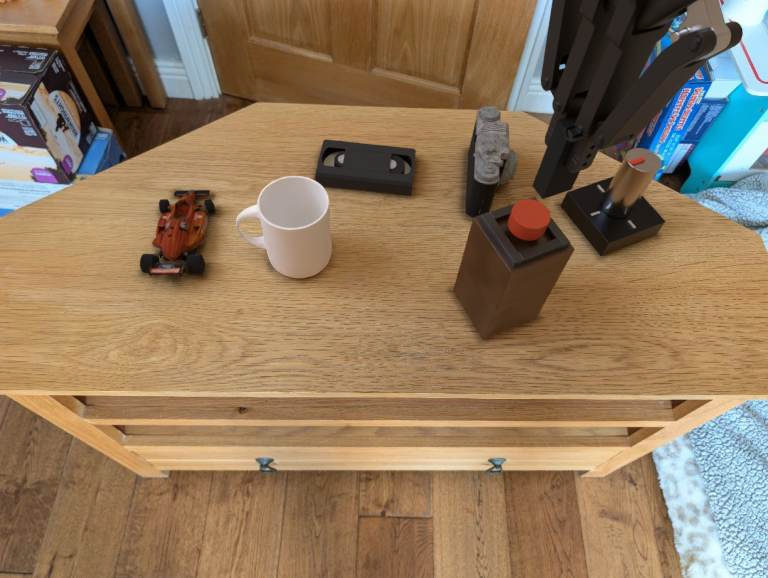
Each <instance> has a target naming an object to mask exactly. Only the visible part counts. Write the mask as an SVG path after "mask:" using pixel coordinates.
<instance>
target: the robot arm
mask: <svg viewBox="0 0 768 578" xmlns="http://www.w3.org/2000/svg"><path fill="white" fill-rule="evenodd" d="M550 7H551V8H550V14H549V20H548V27H547V34H546V40H545V46H544V55H543V62H542V67H541V75H540V87H541V88H542V90H543V91H544V92H549V91H550V93H551V95H552V97H553V99H552V102H551V106H552V110H553V113H552V115H551V119H550V122H549V124H548V127H547V130H546V132H545V135H544V145H545V146H546V149H545V151H544V154H543V156H542V159H541V161H540V164H539V167H538V169H537V172H536V175H535V177H534V180H533V183H532V185H531V186H532V188H533V190H534V191H535V192H536V193H537V194H538V195H539V197H540V198H541V199H542V200H545V199H548V198H551V197H553V196H556V195H560V194H563V193H565V192H566V193H567V192H569V191H572V190H573V187H574V185H575V183H576V181H577V179H578V177H579V174H580V172H581V171H584V170H587V169H589V168H590V167H591V166H592V165H593V163H594V160H595V159H596V156H597V154H598V152H599V151H600V150H605V149H608V148H611V147H615V146H617V145H618V146H619V145H621V144H624V143H627V142H631V141H634V140H635V139H636V138H637V137H638V136H639V135H640V134H641V132H642V131H643V130H644V129H645V128H646V127H647V126H648V125H649V124H650V123H651V122H652V121H653V120H654V118H655V117H657V115H658V114H659V113H660V112H662V110H663V109H664V108H665V107H666V106H667V105H668V103H670V101H672V100H673V98H674V97H675V96H676V95H677V94H678V93H679V91H681V90H682V89H683V87H684V86H685V85H686V84H687V83H688V82H689V81H690V80H691V79H692V78H693V77H694V76H695V74H697V72H698V71H700V69H701V68H702V67H703V66H704V65H705V64H706V63H707V62H708V61H709V60H711V59H713V58H714V57H715V58H716V57H717V56H719V55H721V54H723V53H725V52H727V51H728V50H730V49H733V48H734V47H736V46H737V45H739V44H740V42H741V40H742V39H743V35H744V31H743V27H742V25H741V24H740V23H739V22H737V21H734V20H733V21H729V22H726V21H725V18H724V13H723V10H722V7H721V3H720V0H552V1H551V6H550ZM685 13H686V15H685V18H684V20H683V22H681V24H680V25H679V26H678V28H677V30H674V31H673V32H671V34H670V36H669V37H670V38H669V39H670V43H671V44H670V45H668V46H667V47H665V48H664V49H663V50H662V51H661V52H660V53H658V55H657V56H656V57H655V58H654V59H653V60H652V61H651V63H650V64H649V65H648V66H647V68H646V69H645V67H646V65H647V63H648V62H649V61H648V60H649V59H650V57H651V55H652V53H653V51H654V48H655V47H656V45H657V43H658V42H659V41H660V40H662V39H664V37H665V36H666V35H667V34H668V32H669V31H670V30H671V29H670V28H671V27H672V25H673V23H674V20H675V19H677V18H679V17H680V16H683V15H684V14H685ZM562 65H564V67H562V68H560V67H561V66H562ZM644 69H645V70H644Z"/></svg>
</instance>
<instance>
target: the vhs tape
mask: <svg viewBox="0 0 768 578" xmlns="http://www.w3.org/2000/svg"><path fill="white" fill-rule="evenodd" d="M416 153H417V150H416V149H415V148H410V147H401V146H392V145H384V144H383V145H381V144H372V143H362V142H354V141H346V140H334V139H324V140H323V141H322V145H321V149H320V153H319V158H318V162H317V165H316V167H317V168H316V169H315V175H314V180H315V181H316V182H318V183H319V184H321V185H322V186H323V187H324V188H334V189H343V190H352V191H364V192H369V193H370V192H371V193H380V194H381V193H382V194H391V195H399V196H407V197H409V196H410V197H411V196H412V192H413V184H414V173H415V163H416Z"/></svg>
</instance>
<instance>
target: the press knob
mask: <svg viewBox="0 0 768 578" xmlns="http://www.w3.org/2000/svg"><path fill="white" fill-rule="evenodd" d="M538 201H539V200H538ZM538 201H536V200H531V199H529V198H525V199H521V200H518V201H517V202H515V203H516V204H515V203H514V204H515V205H514V206H513V208H512V211H511V214H510V217H509V219H508V227H509V230H510V231H511V233H512V234H513V235H515V236H516V237H518V238H520V239H522V240H527V241H532V240H537V239H539V238H540V237H542V236H543V234H544V233H545V230H546V228H547V226H548V224H549V222H550V219H551V218H552V215H551V211H550V210H549V208H548V207H547V206H546V205H545V204H544V203H542V202H540V201H539V202H538Z"/></svg>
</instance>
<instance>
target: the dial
mask: <svg viewBox="0 0 768 578" xmlns="http://www.w3.org/2000/svg"><path fill="white" fill-rule="evenodd" d="M661 165H662V161H661V159H660V158H659V156H658V155H657V154H656V153H655V152H653V151H651V150H649V149H647V148H643V147H635V148H632V149H629V150H628V152H627V153H626V154H625V157H624V158H623V160H622V162H621V164H620V165H619V167H618V169H617V171H616V173H615V174H614V175H613V176H614V178H613V180H612V181H611V183H610V185H609V187H608V189H607V190H606V192H605V194H604V196H603V198H602V199H601V207H602V209H603V210H604V212H606V213H607V214H608V215H610V216H612V217H615V218H624V217H627V216H629V215H630V214H631V212H632V210H633V209H634V207H635V206H636V204H637V203H638V201H639V200H640V198H641V196H644V195H643V194H645V192H646V190H647V188H648V187H649V185H650V184H651V182H652V181H653V179H654V178H655V176H656V175H657V173H658V171H659V170H660V168H661V167H662V166H661Z"/></svg>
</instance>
